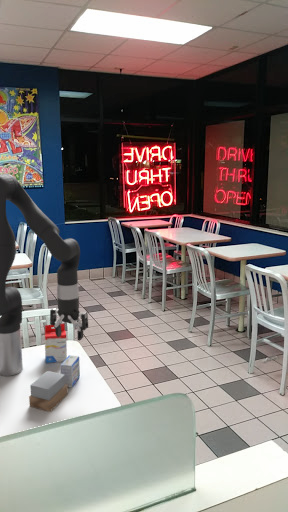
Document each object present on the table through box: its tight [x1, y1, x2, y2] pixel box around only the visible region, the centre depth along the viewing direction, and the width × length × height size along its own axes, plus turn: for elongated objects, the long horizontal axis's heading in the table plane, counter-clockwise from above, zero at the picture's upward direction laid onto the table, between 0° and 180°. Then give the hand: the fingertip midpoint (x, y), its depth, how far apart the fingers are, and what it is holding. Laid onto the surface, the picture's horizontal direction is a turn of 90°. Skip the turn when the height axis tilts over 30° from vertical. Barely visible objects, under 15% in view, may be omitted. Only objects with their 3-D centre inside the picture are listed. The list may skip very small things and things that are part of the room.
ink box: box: [44, 323, 68, 364], centre depth 162 cm, size 8×5×15 cm, turn 106°
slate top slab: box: [29, 370, 65, 400], centre depth 134 cm, size 7×10×4 cm
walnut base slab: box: [28, 384, 69, 412], centre depth 135 cm, size 8×11×4 cm
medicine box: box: [59, 355, 81, 388], centre depth 146 cm, size 8×4×9 cm, turn 168°
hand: (69, 337), depth 143 cm, fingers open, 8 cm apart
